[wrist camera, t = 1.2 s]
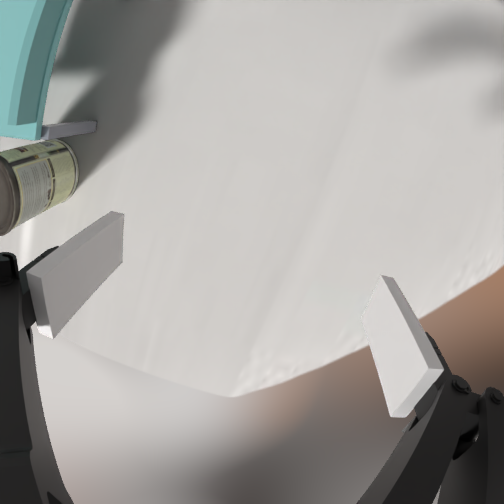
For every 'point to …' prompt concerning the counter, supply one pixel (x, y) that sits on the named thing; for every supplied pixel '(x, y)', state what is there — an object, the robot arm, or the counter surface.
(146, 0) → the counter surface
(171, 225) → the counter surface
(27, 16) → the lid
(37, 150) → the coffee can
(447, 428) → the robot arm
